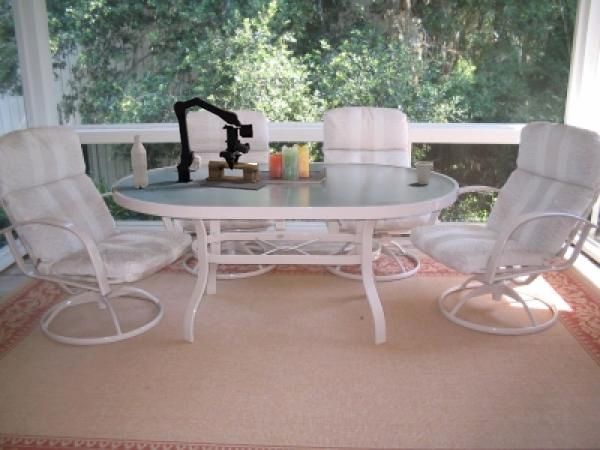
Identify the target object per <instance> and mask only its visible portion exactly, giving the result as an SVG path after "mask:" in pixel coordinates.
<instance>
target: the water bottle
mask: <svg viewBox="0 0 600 450" xmlns="http://www.w3.org/2000/svg"><path fill="white" fill-rule="evenodd" d="M130 157H131V169H132V175H133V177H132V184H133V186H134V187H135V189H138V190H139V189H140V188H141V189H143V188H144V189H146V188H148V186H149V178H148V177H149V176H148V173H147V172H148V169H147V168H148V161H147V159H148V158H147V151H146V148H145V146H144V145H143V143H142V137H141V134H134V135H133V145H132V147H131V150H130Z"/></svg>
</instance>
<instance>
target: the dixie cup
mask: <svg viewBox="0 0 600 450" xmlns="http://www.w3.org/2000/svg"><path fill="white" fill-rule="evenodd" d="M415 166H416V168H415V169H416V182H417V184H419V185H429V184H430V181H431V175H432V169H433V162H431V161H416V162H415Z"/></svg>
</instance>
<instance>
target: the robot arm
mask: <svg viewBox="0 0 600 450" xmlns="http://www.w3.org/2000/svg"><path fill="white" fill-rule="evenodd" d="M193 107H199V108H201V109H203V110H204V111H207V112H209V113H211V114H214V115H215V116H216V117H219V118H220V119H221V120H222V121H224V122H225V124H224V126H222V127H221V129H222V130H225V131H226V134H225V135H226V140H224V143H226V148H225V150H221V151H220V152H219V153H218V155H219V156H218V157H219V158H223V159H224V160H225V162H227V164H228V166H229V167H230V169H229V170H230V171H233V170H234V169H233V165H234V162H239V159H240V158H241V156H243V155H247V154H248V153H249V151H250V150H251V145H250V143H249V142H245V143H242V142H241V139H239V137H241V138H242V139H254V130H253V123H248V124H247V123H246V124H242V123H241V121H240V119H239V116H238V114H237V113H236V112H234V111H231V110H227V109H224V108H220V107H219V106H216V105H214V104H212V102H208V101H207V100H204V99H203V98H201V97H200V96H196V97H194V98H190V99H188V100H185V101H184V100H178V101H176V102H175V103H174V104H173V110H174V111H173V112H174V114H175V116H176V119H177V121H178V129H179V131H178V132H179V137H180V147H181V153H180V162H179V163H178V165H177V166H176V170H177V178H178V179H176V181H175V183H190V182H192V181H193V180H194V179H191V168H190V166H191V165H192V163H193V162H194V159H195V157H194V155H195V150H192V149H191V145H190V138H189V137H190V136H189V130H188V120H187V118H188V109H190V108H193ZM241 153H242V154H241Z"/></svg>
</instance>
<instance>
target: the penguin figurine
mask: <svg viewBox="0 0 600 450" xmlns="http://www.w3.org/2000/svg"><path fill="white" fill-rule="evenodd" d="M194 157H195V159H194V162H193V163H192V165H191V166H190V169H191V170H194V172H198V171H199V170H200V169H201V167H202V157H201V156H200V155H198V154H194Z"/></svg>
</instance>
